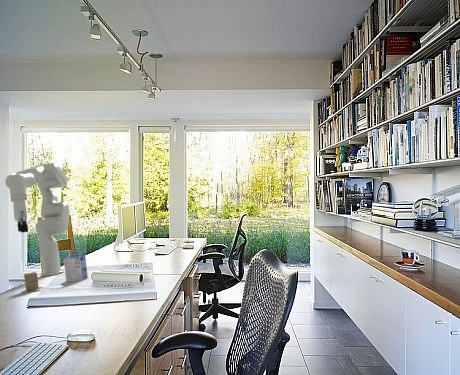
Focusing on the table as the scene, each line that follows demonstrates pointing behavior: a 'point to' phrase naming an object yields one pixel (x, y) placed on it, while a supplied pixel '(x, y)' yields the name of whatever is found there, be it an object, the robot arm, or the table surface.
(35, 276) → the walnut block
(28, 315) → the table surface
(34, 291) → the slate coaster
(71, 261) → the ink cartridge box
